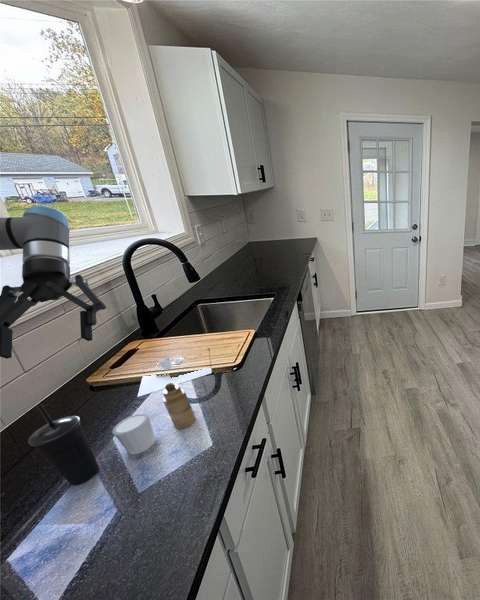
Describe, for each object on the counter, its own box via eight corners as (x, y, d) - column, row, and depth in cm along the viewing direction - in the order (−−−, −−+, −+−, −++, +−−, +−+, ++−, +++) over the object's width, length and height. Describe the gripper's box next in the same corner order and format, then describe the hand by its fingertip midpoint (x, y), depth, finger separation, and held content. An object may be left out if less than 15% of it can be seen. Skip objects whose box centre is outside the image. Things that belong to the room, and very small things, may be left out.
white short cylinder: (144, 456, 74) (133, 434, 71) (116, 457, 74) (104, 435, 71) (165, 433, 80) (155, 412, 77) (139, 434, 80) (128, 413, 77)
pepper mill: (172, 423, 83) (155, 385, 78) (192, 413, 86) (177, 375, 81) (177, 432, 80) (159, 392, 75) (198, 421, 83) (182, 382, 78)
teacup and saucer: (185, 359, 112) (181, 349, 111) (184, 370, 106) (180, 360, 105) (155, 368, 108) (151, 358, 107) (153, 379, 102) (148, 369, 100)
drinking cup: (106, 454, 75) (65, 387, 67) (108, 474, 70) (65, 403, 62) (61, 476, 70) (12, 406, 62) (60, 498, 65) (7, 425, 57)
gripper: (119, 263, 83) (125, 337, 76) (-13, 282, 73) (-19, 368, 67) (103, 247, 76) (109, 326, 69) (-44, 266, 67) (-54, 360, 60)
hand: (46, 347), depth 68 cm, fingers open, 13 cm apart
